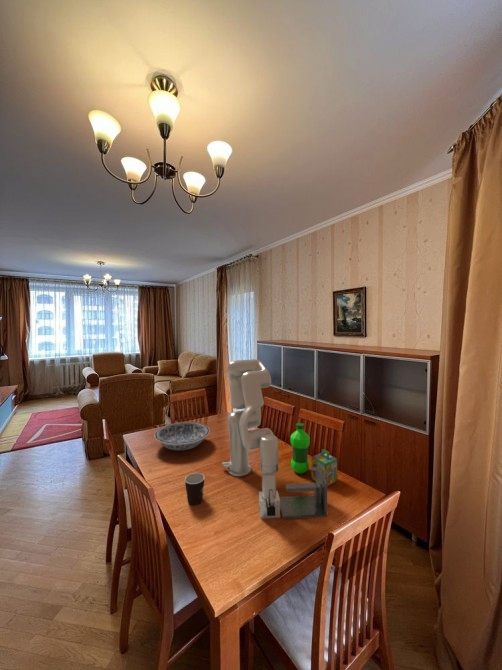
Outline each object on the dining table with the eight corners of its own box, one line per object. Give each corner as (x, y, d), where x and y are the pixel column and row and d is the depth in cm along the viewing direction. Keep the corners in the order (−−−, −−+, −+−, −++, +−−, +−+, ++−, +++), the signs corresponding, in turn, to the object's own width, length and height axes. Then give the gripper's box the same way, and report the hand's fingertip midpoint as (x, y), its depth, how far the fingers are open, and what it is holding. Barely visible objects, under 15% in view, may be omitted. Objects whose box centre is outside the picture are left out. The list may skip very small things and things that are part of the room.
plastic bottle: (309, 466, 146) (309, 421, 145) (309, 477, 135) (309, 428, 134) (291, 464, 148) (290, 420, 147) (289, 475, 138) (289, 427, 137)
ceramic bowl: (182, 465, 148) (181, 447, 148) (142, 450, 166) (142, 434, 166) (220, 442, 178) (220, 427, 177) (183, 431, 196) (183, 418, 195)
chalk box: (310, 479, 134) (310, 450, 134) (322, 473, 140) (322, 445, 139) (325, 488, 127) (325, 457, 126) (337, 481, 132) (337, 452, 131)
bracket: (282, 518, 107) (282, 484, 106) (278, 499, 119) (278, 468, 118) (327, 516, 108) (327, 482, 107) (318, 497, 120) (318, 466, 119)
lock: (260, 518, 107) (260, 501, 107) (259, 507, 114) (258, 491, 113) (280, 517, 108) (280, 500, 107) (277, 506, 114) (277, 490, 114)
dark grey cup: (195, 509, 113) (195, 486, 112) (181, 502, 117) (180, 480, 117) (213, 494, 123) (213, 473, 122) (199, 488, 127) (199, 467, 127)
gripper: (258, 456, 118) (258, 494, 119) (261, 478, 101) (262, 522, 101) (275, 455, 119) (275, 493, 119) (281, 477, 101) (282, 521, 102)
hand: (269, 507), depth 110 cm, fingers open, 9 cm apart
